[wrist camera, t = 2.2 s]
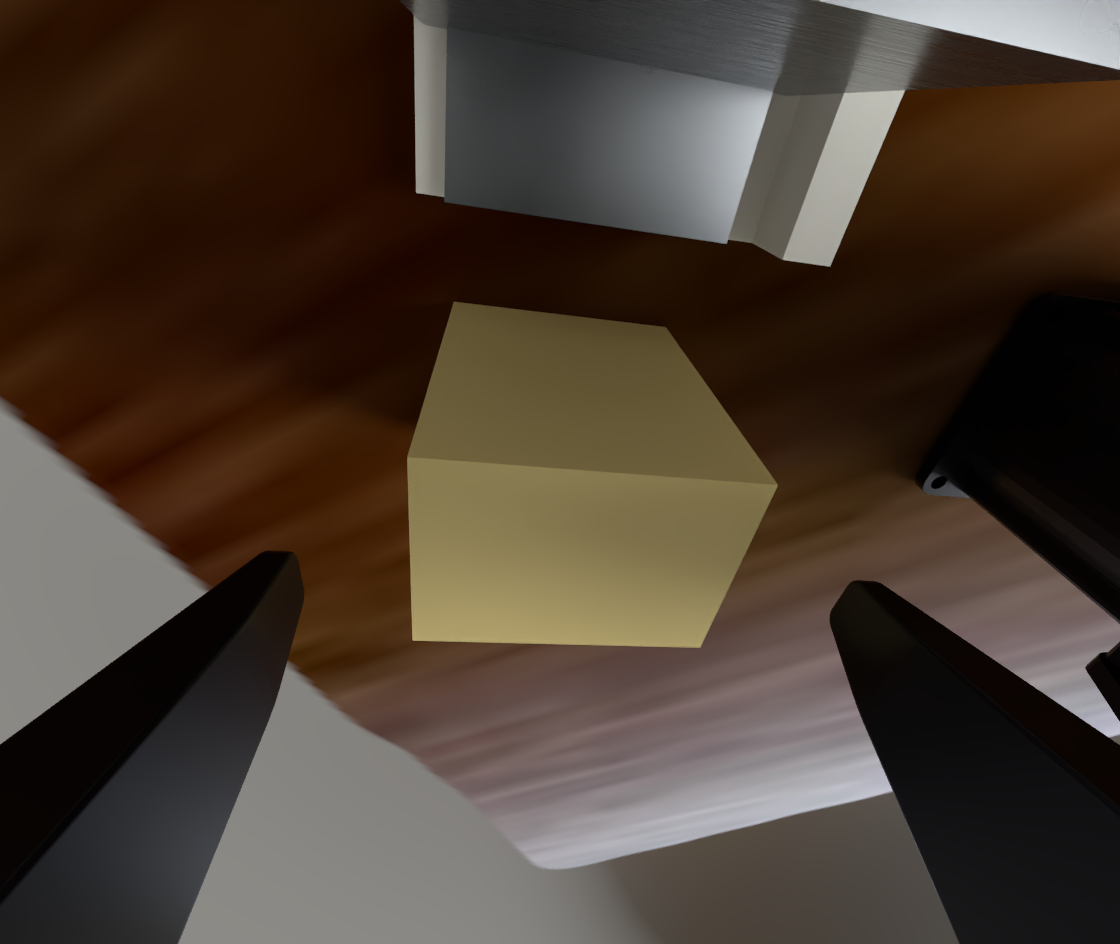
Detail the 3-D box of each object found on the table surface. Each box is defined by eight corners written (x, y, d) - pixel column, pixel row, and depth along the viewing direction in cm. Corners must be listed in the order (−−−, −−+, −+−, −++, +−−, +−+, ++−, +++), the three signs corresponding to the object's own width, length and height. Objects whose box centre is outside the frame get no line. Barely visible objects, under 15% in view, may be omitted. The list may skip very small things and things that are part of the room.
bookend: (739, 243, 11) (965, 375, 5) (424, 196, 10) (320, 301, 4) (810, 23, 9) (1276, -111, 3) (423, -63, 8) (234, -433, 2)
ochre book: (631, 453, 16) (700, 647, 10) (449, 438, 15) (412, 640, 9) (665, 326, 14) (777, 485, 8) (453, 301, 13) (407, 456, 7)
